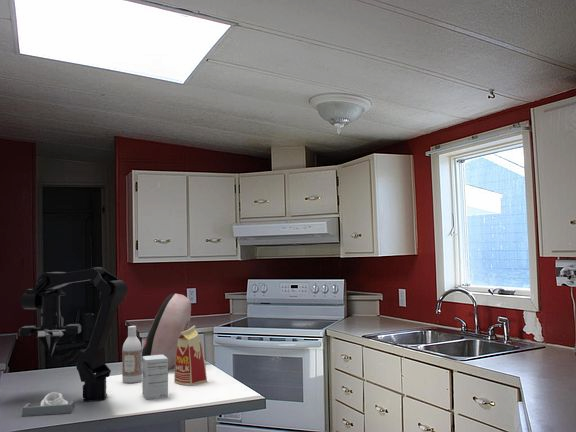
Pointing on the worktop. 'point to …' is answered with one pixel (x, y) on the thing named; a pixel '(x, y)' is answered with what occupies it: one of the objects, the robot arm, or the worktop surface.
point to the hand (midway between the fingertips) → (50, 356)
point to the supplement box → (155, 376)
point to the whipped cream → (53, 399)
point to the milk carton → (189, 359)
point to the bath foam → (132, 358)
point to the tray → (48, 409)
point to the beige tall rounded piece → (168, 328)
